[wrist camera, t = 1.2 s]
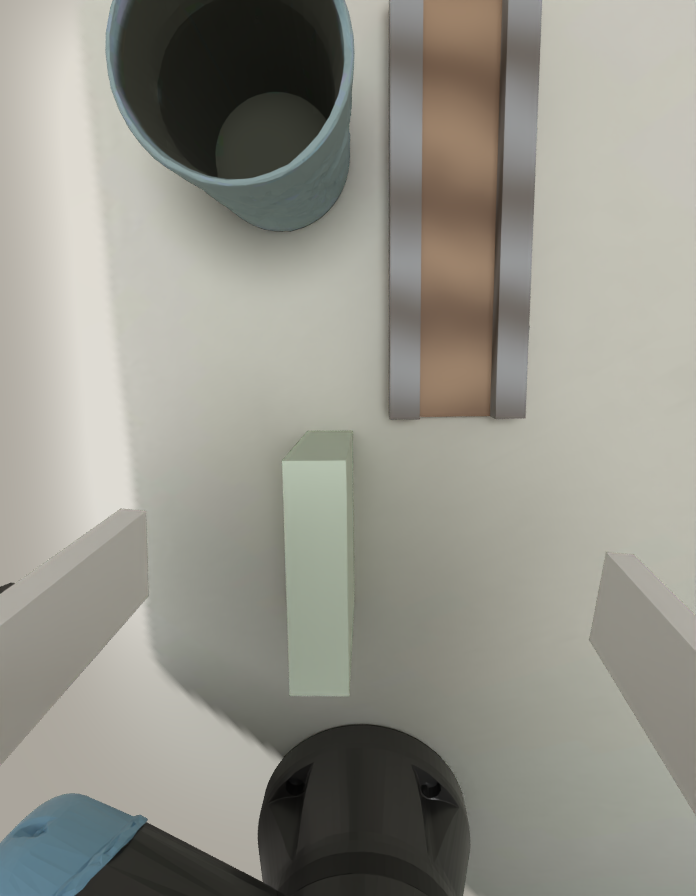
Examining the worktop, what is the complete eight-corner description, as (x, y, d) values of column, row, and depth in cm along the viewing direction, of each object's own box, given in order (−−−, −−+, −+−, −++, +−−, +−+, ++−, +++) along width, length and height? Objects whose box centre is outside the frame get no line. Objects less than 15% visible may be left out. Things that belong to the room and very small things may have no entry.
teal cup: (382, 208, 34) (390, 126, 22) (234, 271, 35) (165, 225, 23) (321, 42, 32) (294, -142, 20) (169, 112, 33) (59, -25, 21)
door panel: (354, 600, 38) (349, 696, 27) (307, 600, 38) (283, 695, 27) (352, 430, 36) (346, 460, 25) (303, 431, 36) (275, 461, 25)
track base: (514, 414, 35) (525, 418, 33) (388, 415, 36) (390, 419, 33) (529, 4, 32) (543, -26, 29) (388, 9, 32) (390, -21, 29)
